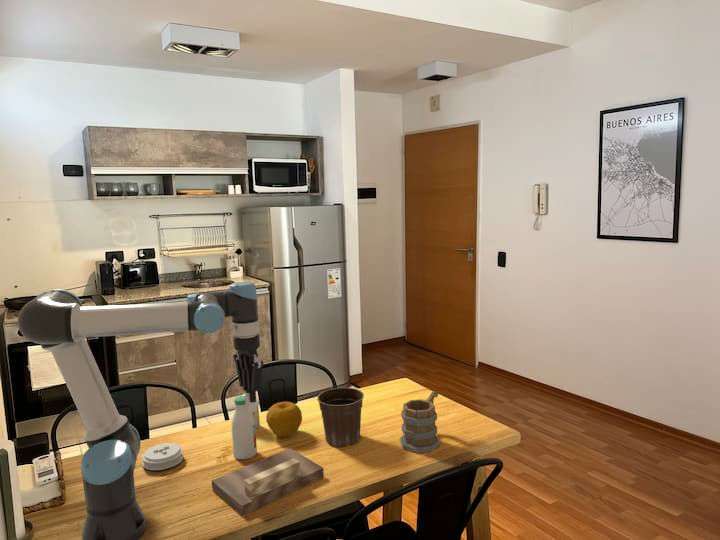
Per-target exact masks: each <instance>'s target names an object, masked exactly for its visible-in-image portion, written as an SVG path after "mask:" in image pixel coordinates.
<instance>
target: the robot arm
mask: <svg viewBox="0 0 720 540" xmlns="http://www.w3.org/2000/svg"><path fill="white" fill-rule="evenodd" d="M256 287H257V286H256V284H255V283H254V282H252V281H237V282H234V283H233V282H232V283H231V284H230V285H229V289H228V290H226V291H214V292H198V293H192V294H188V296H186V297H187V298H186V301H185V302H184V301H183V302H182V301H181V302H163V303H160V302H159V303H157V302H156V303H141V304H140V303H138V304H136V303H135V304H117V305H95V306H83V303H82V301H81V299H80V298H79V296H78V295H76V294H75V293H73V292H71V291H69V290H65V289H61V288H57V289H50V290H46V291H44V292H42V293H39V294H38V295H37V296H35V297H34V298H33V299H32V300H30V301H28V302H26V304H24V306H23V307H22V308H21V309H20V311H19V313H18V316H17V327H18V329H19V332H20V333H21V334H22V336H23V337H24V338H25V339H26V340H28V341H30V342H31V343H35V344H39V345H40V347H41V349H43V350H44V351H48V352H50V353H51V354H52V357H53V358H54V361H55V363H56V365H57V367H58V370H59V372H60V373H61V375H62V378H63V380H64V382H65V385H66V387H67V389H68V390H69V393H70V396H71V398H72V400H73V402H74V404H75V406H76V409H77V411H78V413H79V415H80V417H81V420H82V421H83V424H84V426H85V428H86V432H85V434H84V436H83V439H84V441H85V444H86V445H87V450H86V451H85V452H84V454H83V455H82V458H81V463H80V464H81V465H80V473H81V476H82V484H83V491H84V499H85V506H86V514H85V515H86V516H85V520H84V524H83V528H82V532H81V533H82V534H81V539H82V540H138V539H139V538H140V537H141V536H142V535H143V534H144V533H145V531H146V528H147V524H146V522H147V521H146V516H145V514H144V512H143V510H142V508H141V507H140V504H139V502H138V500H137V496H136V495H137V494H136V485H135V478H134V476H135V467H136V463H137V460H138V457H139V454H140V449H141V438H140V434H139V431H138V430H137V428H136V427H134V426H133V425H132V424H131V423H130V422H129V419H128V418H127V416H126V415H121V414H120V413H119V411H118V409H117V407H116V405H115V402H114V400H113V398H112V395H111V393H110V391H109V388H108V386H107V385H106V381H105V379H104V378H103V375H102V372H101V371H100V369H99V366H98V364H97V362H96V359H95V357H94V355H93V352H92V350H91V349H90V346H89V344H88V341H87V339H86V338H97V337H98V338H99V337H113V336H114V337H115V336H128V335H130V336H131V335H143V334H144V335H145V334H160V333H161V334H162V333H163V334H164V333H177V332H179V333H180V332H192V331H193V332H194V331H197V332H198V331H200V332H201V333H203V334H208V335H210V334H214V333H216V332H218V331H219V330H220V329H221V328H222V327H223V326H224V325H223V324H224V323H225V318H231V322H232V327H231V329H232V335H233V337H232V339H233V349H234V350H235V351H237V353H236V354H233V355H232V357H233V360H234V362H235V368H236V372H237V377H238V383H239V387H240V388H242V389H243V391H244V394H245V401H246V412H247V413H252V412H254V411H257V407H256V400H257V391H260V390H261V383H262V371H263V366H264V361H263V360H261V361H260V360H259V358H258V357H259V355H258V351H257V350H258V349H259V348H260V346H261V342H260V341H261V340H260V325H259V312H258V311H259V310H258V309H259V308H258V296H257V295H258V294H257V288H256Z"/></svg>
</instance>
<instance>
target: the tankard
mask: <svg viewBox="0 0 720 540" xmlns="http://www.w3.org/2000/svg"><path fill="white" fill-rule="evenodd" d="M438 396H439V392H438V391H435V390H432V391H431V392H430V394H429V396H428V397H427V399H410V400H408V401H406V402H405V403H402V404H403V405H402V410H401V413H400V414H401V418H402V421H403V423H402V424H401V432H402V434H403V435H401V436H400V437H399V442H400V445H401V447H402V449H403V450H405V451H409V452H412V453H414V454H415V453H416V454H421V453H430V452H433V451H435V449H437V448H438V447H439V446H440V444H441V443H440V440H439V438H438V436H437V434H438V427H437V425H436V421H438V413H437V411H436V405H435V404H434V403H435V402H434V400H435V398H438Z"/></svg>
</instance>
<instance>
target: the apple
mask: <svg viewBox="0 0 720 540" xmlns="http://www.w3.org/2000/svg"><path fill="white" fill-rule="evenodd" d="M265 419H266V420H265V421H266V423H267V425H268V428H269V429H270V430H271V431H272V433H273V434H274V435H275V436H277V437H280V438H283V439H284V438H286V439H288V438H292V437H293V436H295V435H296V434H297V433H298V430H299V428H300V426H301V425H302V420H303V414H302V411H301V409H300V407H299V405H297V404H296V403H294V402H291V401H281V402H280V401H279V402H276V403H274V404H272V405H271V407H269V408H268V410H267V412H266V417H265Z"/></svg>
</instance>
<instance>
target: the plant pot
mask: <svg viewBox="0 0 720 540" xmlns="http://www.w3.org/2000/svg"><path fill="white" fill-rule="evenodd" d="M364 397H365V394H364V392H363V391H361V390H360V389H357V388H353V387H336V388H330V389H327V390H324V391H322V392H320V393H319V394H318V395H317V402H318V405H319V409H320V412H321V418H322V422H323V432H324V437H325V441H326V442H327V444H328V445H329V446H333V447H337V448H342V447H347V446H348V445H350V446H353V445H355V444H357V443H358V442H359V441H360V439H361V424H362V423H361V421H362V418H361V417H362V408H363V399H364Z"/></svg>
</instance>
